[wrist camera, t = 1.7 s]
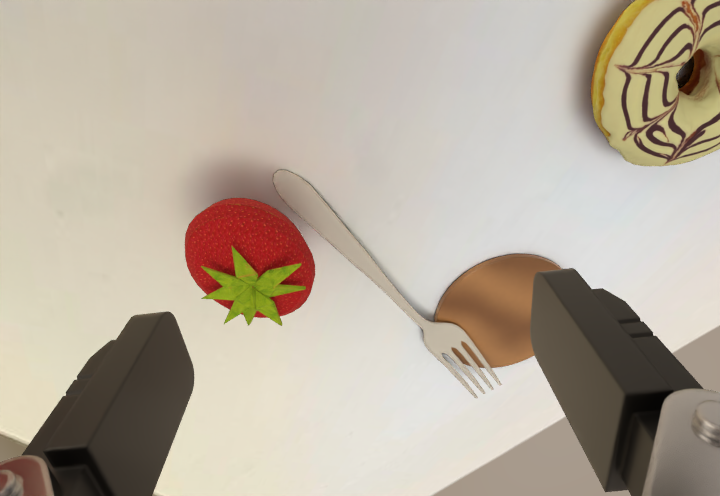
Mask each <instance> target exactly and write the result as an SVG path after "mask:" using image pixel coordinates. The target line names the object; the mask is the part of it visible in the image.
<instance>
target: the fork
mask: <svg viewBox="0 0 720 496" xmlns="http://www.w3.org/2000/svg"><path fill="white" fill-rule="evenodd" d="M273 183H274V185H275V188H276V190H277V192H278V194H279V195H280V196H281V198H282V199H283V200H284V202H285V203H286V204H287V205H288V206H289V207H290V208H291V209H292V210H294V211H295V212H296V213H297V214H298V215H299V216H300V217H301V218H302V219H303V220H304V221H306V222H307V223H308V224H309V225H310V226H311V227H312V228H313V229H315V230H316V231H317V232H318V233H319V234H320V235H321V236H323V237H324V238H325V239H326V240H327V241H328V242H329V243H330V244H332V245H333V246H334V247H335V248H336V249H337V250H338V251H339V252H340V253H342V254H343V255H344V256H345V257H346V258H347V259H348V260H349V261H350V262H351V263H352V264H354V265H355V266H356V267H357V268H358V269H359V270H361V271H362V272H363V273H364V274H365V275H366V276H367V277H369V278H370V279H371V280H372V281H373V282H374V283H375V284H376V285H377V286H378V287H379V288H381V289H382V290H383V291H384V292H385V293H386V294H387V295H388V296H389V297H390V298H391V299H392V300H393V301H394V302H395V303H396V304H397V305H398V306H399V307H400V308H401V309H402V310H403V311H404V312H405V313H406V314H407V315H408V316H409V317H410V318H411V319H412V320H413V321H414V322H415V323H416V324H417V325H419V326H420V327H421V328H422V330H423V341H424V344H425V346H426V347H427V349H428V350H429V351H430V352H431V353H432V354H433V355H434V356H435V357H436V358H437V359H438V360H439V361H440V362H441V363H442V364H443V365H444V366H445V367H446V368H447V369H448V370H449V371H450V372H451V373H452V374H453V375H454V376H455V377H456V378H457V379H458V380H459V381H460V382H461V383H462V384H463V386H464V387H465V388H466V389H467V390H468V391H469V392H470V393H471V394H472V395H473V396H474V397H475V398H478V397H477V396H476V394H475V393H474V392H473V390H472V389H471V387H470V386H469V385H468V383H467V382H466V381H465V380H464V379H463V378H462V377H461V376H460V374H459V373H458V372H457V371H456V370H455V369H454V368H453V367H452V366H451V365H450V363H449V362H448V361H447V360H446V359H445V358H444V357H443V356H442V353H444V354H447V355H448V356H449V357H450V358H451V359H452V360H453V361H454V362H455V363H456V364H457V365H458V366H459V367H460V368H461V370H462V371H463V372H464V373H465V374H466V375H467V376H468V378H469V379H470V380H471V381H472V382H473V383H474V384H475V385H476V386H477V388H478V389H479V390H480V391H481V392H482V393H483V394H485V392H484V390H483V389H482V387H481V386H480V385H479V383H478V382H477V380H476V379H475V378H474V376H473V375H472V374H471V373H470V372H469V370H468V369H467V368H466V367H465V366H464V364H463V363H462V362H461V361H460V359H459V358H458V357H457V356H456V355H455V354H454V352H453V351H452V348H451V347H453V348H456V349H457V350H458V351H459V352H460V353H461V354H462V355H463V356H464V357H465V359H466V360H467V361H468V362H469V364H470V365H471V366H472V367H473V368H474V370H475V371H476V372H477V373H478V375H479V376H480V377H481V378H482V379H483V380H484V382H485V383H486V384H487V385H488V386H489V387H490V388H491V390H493V387H492V386H491V384H490V383H489V381H488V379H487V378H486V376H485V375H484V373H483V372H482V371H481V370H480V368H479V367H478V366H477V364H476V363H475V362H474V360H473V359H472V358H471V357H470V355H469V354H468V353H467V351H466V350H465V349H464V348H463V346H462V345H461V341H463V342H465V343H467V345H468V346H469V347H470V348H471V350H472V351H473V352H474V354H475V355H476V356H477V358H478V359H479V360H480V362H481V363H482V364H483V366H484V367H485V368H486V370H487V371H488V372H489V373H490V375H491V376H492V377H493V378H494V379H495V381H496V382H497V383H498V384H499V385H502V384H501V383H500V381H499V380H498V378H497V376H496V375H495V373H494V372H493V370H492V368H491V367H490V366H489V364H488V363H487V361H486V360H485V359H484V357H483V356H482V354H481V353H480V352H479V350H478V349H477V347H476V346H475V345H474V343H473V342H472V340H471V339H470V338H469V336H468V335H467V334H466V333H465V332H464V330H463V329H461V328H460V327H459V326H457V325H454V324H452V323H444V322H431V321H428V320H426V319H425V318H423V317H422V316H421V315H420V314H419V313H418V312H416V311H415V309H414V308H413V307H412V306H411V305H410V304H409V303H408V302H407V301H406V300H405V298H404V297H403V296H402V295H401V294H400V293H399V292H398V290H397V289H396V288H395V287H394V286H393V284H392V283H391V282H390V281H389V279H388V278H387V277H386V276H385V274H384V273H383V272H382V271H381V269H380V268H379V267H378V265H377V264H376V263H375V262H374V260H373V259H372V258H371V256H370V255H369V254H368V253H367V251H366V250H365V249H364V248H363V247H362V245H361V244H360V243H359V242H358V241H357V240H356V238H355V237H354V236H353V235H352V234H351V232H350V231H349V230H348V229H347V228H346V226H345V225H344V224H343V223H342V222H341V220H340V219H339V218H338V217H337V216H336V214H335V213H334V212H333V211H332V209H331V208H330V207H329V206H328V205H327V203H326V202H325V201H324V200H323V199H322V198H321V197H320V195H319V194H318V193H317V192H316V191H315V190H314V189H313V187H312V186H311V185H310V184H309V183H307V182H306V181H305V180H303V179H302V178H301V177H299V176H298V175H296V174H294V173H291V172H288V171H286V170H279V171H277V172H276V173H275V174H274V178H273Z"/></svg>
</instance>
